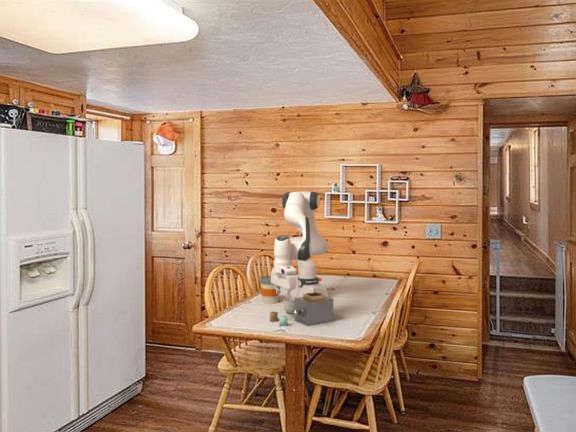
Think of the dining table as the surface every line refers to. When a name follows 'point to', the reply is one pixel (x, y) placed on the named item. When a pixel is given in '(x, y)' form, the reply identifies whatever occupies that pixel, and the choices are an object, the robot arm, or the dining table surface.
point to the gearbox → (313, 309)
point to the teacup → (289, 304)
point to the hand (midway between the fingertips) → (283, 295)
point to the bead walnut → (273, 316)
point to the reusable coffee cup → (268, 291)
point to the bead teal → (283, 321)
